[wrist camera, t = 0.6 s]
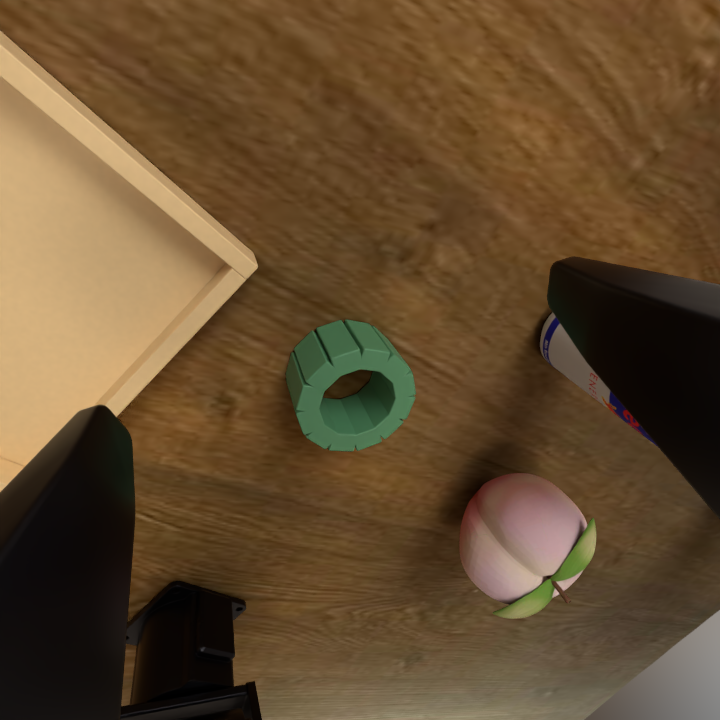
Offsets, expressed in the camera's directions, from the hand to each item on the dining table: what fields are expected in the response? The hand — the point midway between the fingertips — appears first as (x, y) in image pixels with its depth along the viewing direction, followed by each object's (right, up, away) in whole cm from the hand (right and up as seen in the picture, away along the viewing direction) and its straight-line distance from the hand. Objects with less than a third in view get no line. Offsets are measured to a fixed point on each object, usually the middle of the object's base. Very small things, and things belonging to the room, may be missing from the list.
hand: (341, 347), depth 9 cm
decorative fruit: (+11, -11, +27) cm, 31 cm away
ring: (-1, -1, +17) cm, 17 cm away
